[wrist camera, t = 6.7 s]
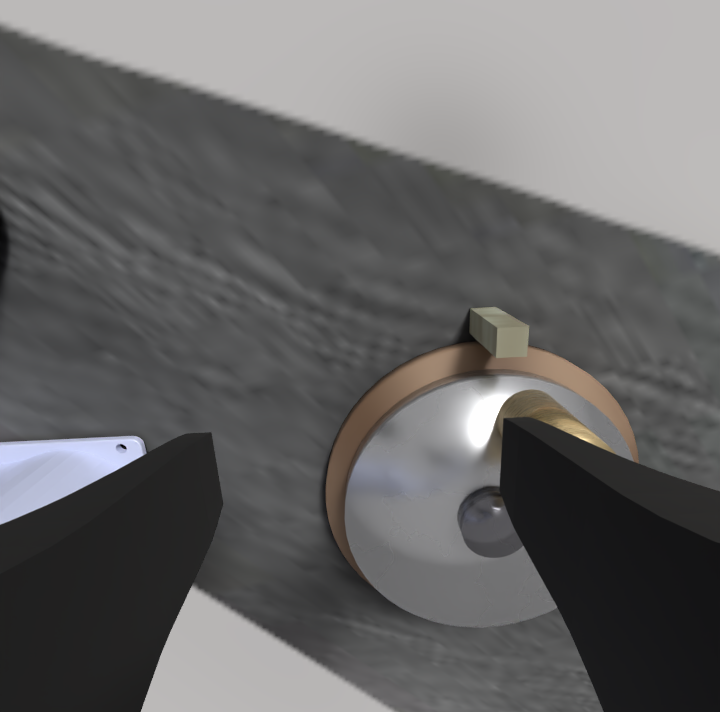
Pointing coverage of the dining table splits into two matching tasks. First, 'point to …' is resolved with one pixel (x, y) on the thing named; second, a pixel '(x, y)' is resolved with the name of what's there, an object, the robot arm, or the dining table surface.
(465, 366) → the wheel base
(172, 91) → the dining table surface
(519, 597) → the handwheel
